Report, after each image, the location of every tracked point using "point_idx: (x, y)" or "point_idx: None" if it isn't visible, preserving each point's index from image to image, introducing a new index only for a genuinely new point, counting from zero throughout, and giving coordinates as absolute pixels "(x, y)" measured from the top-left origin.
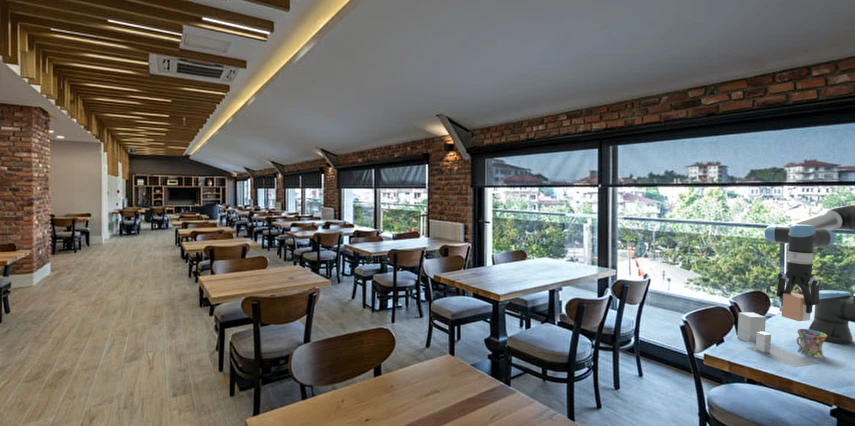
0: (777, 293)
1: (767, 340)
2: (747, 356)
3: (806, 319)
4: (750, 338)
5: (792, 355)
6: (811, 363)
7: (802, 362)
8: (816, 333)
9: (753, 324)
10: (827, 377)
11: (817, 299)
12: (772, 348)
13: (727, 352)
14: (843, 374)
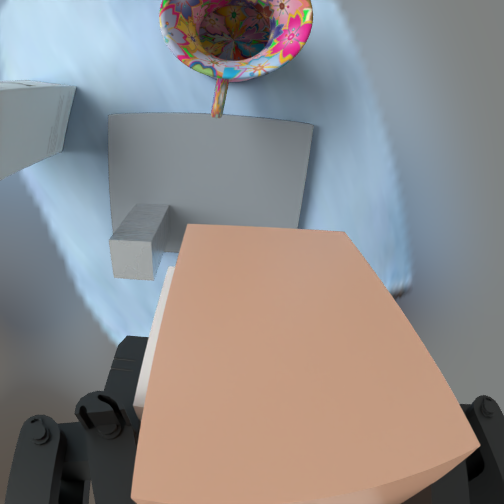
0: (64, 484)
1: (159, 248)
2: (159, 282)
3: None
4: (52, 152)
5: (221, 144)
6: (300, 164)
7: (280, 187)
8: None
9: (15, 158)
10: (359, 207)
11: (499, 456)
12: (140, 146)
13: (122, 308)
14: (373, 125)
